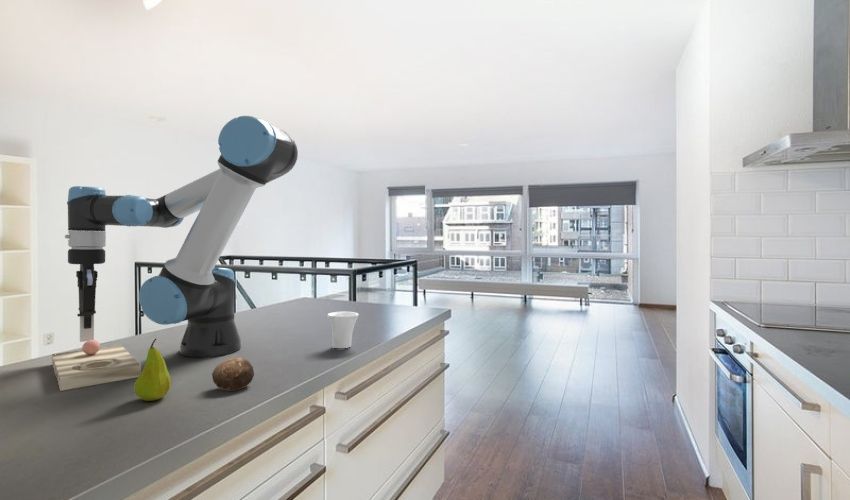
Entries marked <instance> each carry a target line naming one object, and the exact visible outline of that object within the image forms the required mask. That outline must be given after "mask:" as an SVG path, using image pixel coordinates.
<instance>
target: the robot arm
mask: <svg viewBox="0 0 850 500" xmlns="http://www.w3.org/2000/svg"><path fill="white" fill-rule="evenodd" d="M217 141H218V142H217V144H218V145H219V148H218V150H219V152H220V155H219V158H218V159H217V164H218V167H219V168H218V169H216V170H214V171H212V172H209V173H208V174H206V175H203V176H201V177H199V178H198V179H195V180H193V181H191V182H189V183H187V184H185V185H183V186H181V187H179V188H177V189H175V190H173V191H171V192H169V193H167V194H165V195H162V196H160V197H158V198H147V197H146V198H145V197H143V196H140V195H132V194H125V195H107V194H106V190H105V189H104V188H102V187H97V186H96V187H95V186H81V185H78V186H77V185H75V186H71V187H70V188H69V189H68V192H67V193H68V195H67V196H68V197H67V202H66V204H67V231H68V232H67V233H68V234H64V238H65V239H67V242H68V243H67V245H68V247H69V249H68V250H67V263H68V264H69V265H79V270H76V272H75V273H76V278H77V287H78V311H79V313H77V317H79V342H80V343H83V342H84V343H85V342H87V341H89V340H95V334H94V333H95V328H94V327H95V314H97V311H96V290H97V280H98V271H97V270H95V265H101V264H105V263H106V250H105V249H104V248H105V247H106V244H107V243H106V241H107V240H106V236H107V234H106V233H107V232H106V226H120V227H121V226H124V227H153V228H165V229H166V228H175V227H177V226H179V225H181V223H183V221H184V219H185V218H186V217H188V216H190V215H192V214H195V213H196V212H198V211H199V212H198V213H197V216H196V218H195V219H194V222H193V223H192V226H191V227H190V229H189V231H188V233H187V235H186V237H185V239H184V241H183V243H182V245H181V247H180V248H179V251H178V253H177V255H176V256H175V257H174V258H171V259H168V260H166V261H165V263H164V264H163V265H162V268H161V270H160V272H159V274H158V275H154V276H152V277H150V278H148V279H146V280H145V281H144V282H143V283H142V285H141V286H140V288H139V292H138V302H139V306H141V310H142V313H143V314H144V315H145V317H146V318H148V320H150V321H152V322H153V323H154V324H155V323H156V324H158V325H162V326H163V325H172V324H173V325H175V324H180V323H182V322H185V321H187V326H186V328H185V330H184V334H183V337H182V340H181V343H180V345H179V346H180V347H179V348H180V354H181V355H182V356H184V357H192V358H193V357H195V358H204V357H205V358H207V357H216V356H222V355H223V356H224V355H228V354H232V353H235V352H237V351H240V349H241V348H242V339H241V335H240V334H239V330H238V328H237V325H236V322H235V291H236V290H235V289H236V288H235V287H236V286H235V284H236V280H235V272H234V271H233V270H232V268H227V267H215V266H216V265H217V263H218V261H219V259H220V257H221V256H222V253H223V251H224V250H225V247H226V245H227V244H228V242H229V240H230V238H231V237H232V234H233V233H234V231H235V229H236V227H237V225H238V223H239V221H240V219H241V217H242V215H243V213H244V212H245V209H246V208H247V206H248V204H249V202H250V200H251V198H252V197H253V195H254V193H255V191H256V190H257V189H258V188H262V187H264V186H266V185H267V184H268V183H270V182H272V181H274V180H276V179H279V178H281V177H283V176H284V175H286V174H288V173H289V172H290V171H292V170H293V168H294V167H295V165H296V164H297V160H298V147H297V144H296V141H295V140H294V138H293V137H292V136H291V135H290V134H289V133H287V132H286V131H284V130H283V129H279V128H278V127H276V126H274V125H272V124H271V123H269V122H268V121H266V120H263V119H261V118H258V117H255V116H250V115H241V116H238V117H234V118H232V119H230V120H229V121H227V122H226V123H225V125H224V126H223V127H222V128H221V130H220V133H219V135H218V140H217Z"/></svg>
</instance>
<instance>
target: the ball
mask: <svg viewBox="0 0 850 500" xmlns="http://www.w3.org/2000/svg"><path fill="white" fill-rule="evenodd" d="M100 348H101V343H100V342H99V341H98V340H95V339H94V340H89V341H84V343H83V344H82V348H81V349H82V350H83V352H84V353H85V354H88V355H92V354H95V353H97V352H98V351H99V349H100Z"/></svg>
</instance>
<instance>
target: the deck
mask: <svg viewBox="0 0 850 500" xmlns="http://www.w3.org/2000/svg"><path fill="white" fill-rule="evenodd" d="M55 354H56V355H55ZM51 365H53V366H52V369H53V368H54V369H53V372H54V375H55V378H57V379H56V381H58V382H57V385H58V387H59V391H60V392H61V391H68V390H73V389H79V388H85V387H89V386H96V385H102V384H107V383H113V382H117V381H123V380H129V379H134V378H138V377H139V376H140V374H141V373H142V365H141V363H140V362H139V361H137V359H135V357H134V356H133V355H131V353H130V352H129V351H128V350H127V349H126V348H125V347H124V346H123V345H122V344H119V345H113V346H105V347H100V349H99V351H98V352H97V353H95V354H92V355H88V354H85V353H84V352H83V350H74V351H68V352H60V353H58V352H57V353H53V354H51Z"/></svg>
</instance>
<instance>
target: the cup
mask: <svg viewBox="0 0 850 500" xmlns="http://www.w3.org/2000/svg"><path fill="white" fill-rule="evenodd" d="M326 316H327V319H328V321H329V324H330V328H331V334H332V337H331V338H332V342H331V343H332V345H331V347H332V349H334V348H348V347H350V346H351V347H352V339H353V333H354V332H353V331H354V328H355V325H356V322H357V320H358V318H359V313H358V312H356V311H355V312H354V311H334V312H329V313H327V315H326ZM351 347H350V348H351ZM348 349H349V348H348Z"/></svg>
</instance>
